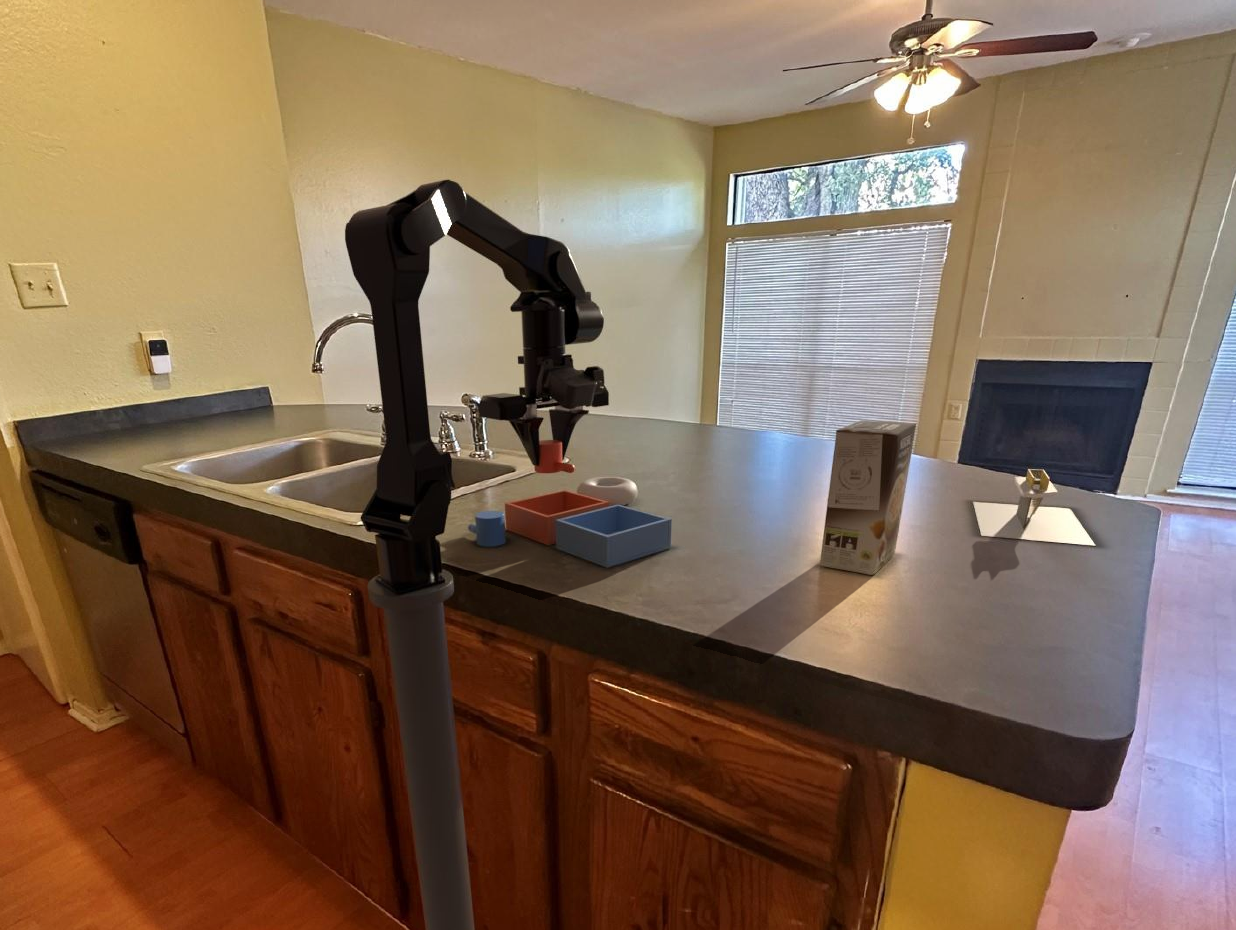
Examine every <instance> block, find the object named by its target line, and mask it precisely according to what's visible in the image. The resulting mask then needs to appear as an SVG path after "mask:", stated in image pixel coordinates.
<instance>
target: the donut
mask: <svg viewBox="0 0 1236 930" xmlns="http://www.w3.org/2000/svg"><path fill="white" fill-rule="evenodd" d="M576 493H578V494H582V495H585V496H589V497H593V498H596V499H600V500H604V501H607V502H609V507H610V506H614V505H622V506H626V505H629V504H631V503H632V502H633V501H634V500H635V499H636V498H637V496H638V493H639V492H638V487H637V485H636V483H635V482H634V481H632V480H631V479H628V478H623V477H618V476H599V477H591V478H588V479H586V480H583V481H581V482H580V483H579V485H578V486H577V488H576Z"/></svg>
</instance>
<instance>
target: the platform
mask: <svg viewBox="0 0 1236 930" xmlns="http://www.w3.org/2000/svg"><path fill="white" fill-rule="evenodd" d="M1014 483H1015V485H1016V487H1017V489H1018V491H1019V493H1020V497H1019V500H1018V503H1017V504H1011V503H1010V504H1009V503H1008V504H1007V503H995V502H994V503H993V502H979V501H972V503H973V507H974V511H975V515H976V520H977V523H978V528H979V531H980V536H982V537H993V538H1005V539H1015V540H1016V539H1017V540H1027V541H1028V540H1029V541H1038V542H1049V543H1050V542H1051V543H1060V544H1061V543H1063V544H1073V545H1083V546H1097V545H1096V544H1095V543H1094V541H1093V539H1092V538H1091V537H1090V535H1089V534H1088V533H1087V531H1086V529H1085V528H1084V527H1083V525H1082V523H1081V522H1080V521H1079V519H1078V518H1077V517H1076V515H1075V514H1074V512H1073V511H1072V509H1071V508H1068V507H1067V508H1065V507H1054V506H1053V507H1051V506H1040V505H1041V503H1042V501H1043V499H1044V498H1050V497H1057V494H1058V490H1057V489H1056V487H1055V486H1054V485H1053V483H1052V482H1051V481H1050V476H1049V475H1048V474H1047V472H1046V471H1045V470H1044V469H1033V468H1028V469H1027V472H1026V476H1015V477H1014ZM1035 485H1037V486H1038V487H1039V488H1038V489H1037V488H1034V486H1035Z"/></svg>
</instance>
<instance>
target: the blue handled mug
mask: <svg viewBox="0 0 1236 930" xmlns="http://www.w3.org/2000/svg"><path fill="white" fill-rule="evenodd" d="M474 519H475V523H470V524H468V526H467V529H468V531H469V532H470V533H473V534H475V535H476V545H478V546H481V547H486V548H491V547H492V548H493V547H499V546H503V545H504V544H506V542H507V539H506V538H507V537H506V519H505V513H504V511H500V510H484V511H480V512H476V514H475V516H474Z"/></svg>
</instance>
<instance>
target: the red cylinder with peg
mask: <svg viewBox="0 0 1236 930" xmlns="http://www.w3.org/2000/svg"><path fill="white" fill-rule="evenodd" d="M539 446H540V460H539V466H534V465H533V466H534V472H535V473H537V474H556V473H560V472H564V473H568V474H572V473H573V472H575V470H576V466H575V465H574V464H572V463H568V462H564V461H562V442H561V441H559V440H553V439H541V440H539Z"/></svg>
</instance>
